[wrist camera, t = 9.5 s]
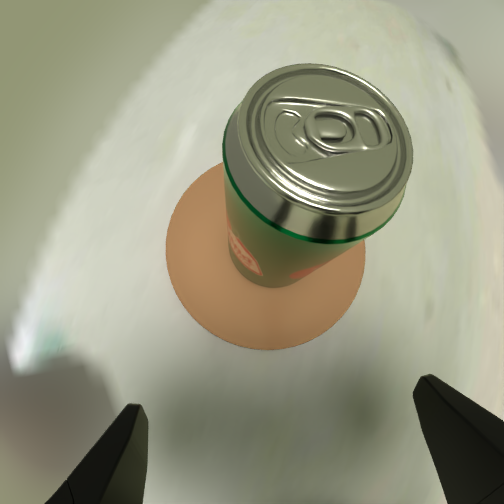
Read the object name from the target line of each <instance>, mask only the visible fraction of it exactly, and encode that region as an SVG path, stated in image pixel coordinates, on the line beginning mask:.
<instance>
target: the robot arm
mask: <svg viewBox="0 0 504 504" xmlns="http://www.w3.org/2000/svg"><path fill="white" fill-rule="evenodd" d="M413 399H414V403H415V406H416V410H417V413H418V417H419V421H420V425H421V428H422V432H423V435H424V438H425V440H426V443H427V445H428V448H429V451H430V454H431V456H432V459H433V462H434V465H435V467H436V470H437V473H438V476H439V479H440V482H441V485H442V488H443V491H444V494H445V497H446V500H447V503H448V504H504V422H503V420H501V419H500V418H498V417H497V416H495V415H494V414H492V413H491V412H489V411H488V410H486V409H484V408H483V407H481V406H480V405H478V404H477V403H475V402H474V401H472V400H471V399H469V398H468V397H466V396H465V395H463V394H462V393H460V392H458V391H457V390H455V389H454V388H452V387H451V386H449V385H448V384H446V383H445V382H443V381H442V380H440V379H439V378H437V377H436V376H434V375H432V374H428V375H424V376H421V377H420V379H419V381H418V383H417V385H416V387H415V389H414V391H413ZM147 461H148V419H147V416H146V414H145V412H144V409H143V407H142V405H141V404H132V403H130V404H127V405H126V407H125V408H124V409H123V410H122V411H121V413H120V414H119V415H118V416H117V418H116V419H115V420H114V421H113V423H112V424H111V425H110V426H109V427H108V429H107V430H106V431H105V432H104V434H103V435H102V436H101V437H100V438H99V440H98V441H97V442H96V443H95V445H94V446H93V447H92V448H91V449H90V451H89V452H88V453H87V454H86V456H85V457H84V458H83V459H82V461H81V462H80V463H79V464H78V465H77V467H76V468H75V469H74V470H73V472H72V473H71V474H70V475H69V476H68V478H67V480H65V481H64V482H63V484H62V485H61V486H60V487H59V488H58V490H57V491H56V492H55V493H54V494H53V495H52V497H51V498H50V499H49V500H48V501H47V502H46V503H45V504H143V496H144V488H145V481H146V473H147Z"/></svg>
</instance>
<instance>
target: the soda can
mask: <svg viewBox="0 0 504 504" xmlns="http://www.w3.org/2000/svg"><path fill="white" fill-rule="evenodd" d="M222 152H223V171H224V188H225V203H226V218H227V233H228V247H229V253H230V257H231V259H232V262H233V264H234V265H235V267H236V269H237V270H238V271H239V272H240V273H241V274H242V275H243V276H244V277H245V278H246V279H248V280H249V281H251V282H252V283H255V284H257V285H259V286H263V287H268V288H281V287H285V286H289V285H291V284H294V283H296V282H297V281H299V280H301V279H302V278H304V277H306V276H307V275H309V274H310V273H312V272H314V271H315V270H317V269H319V268H320V267H322V266H323V265H325V264H327V263H328V262H330V261H331V260H333V259H335V258H336V257H338V256H339V255H341V254H343V253H344V252H346V251H347V250H349V249H350V248H352V247H354V246H355V245H357V244H358V243H360V242H361V241H363V240H364V239H366V238H368V237H369V236H371V235H372V234H374V233H375V232H377V231H378V230H380V229H381V228H382V227H384V226H385V225H386V224H387V223H388V222H389V221H390V220H391V219H392V217H393V216H394V214H395V213H396V211H397V210H398V208H399V206H400V204H401V202H402V199H403V197H404V193H405V188H406V183H407V181H408V178H409V176H410V173H411V170H412V164H413V147H412V141H411V137H410V134H409V131H408V128H407V126H406V123H405V121H404V119H403V117H402V116H401V114H400V113H399V111H398V110H397V108H396V107H395V106H394V104H393V103H392V102H391V101H390V100H389V99H388V98H387V97H386V96H385V95H384V94H383V93H382V92H381V91H380V90H379V89H378V88H376V87H375V86H373V85H372V84H371V83H369V82H368V81H366V80H364V79H363V78H361V77H359V76H357V75H355V74H353V73H351V72H348V71H346V70H343V69H340V68H337V67H333V66H328V65H323V64H311V63H309V64H295V65H290V66H285V67H282V68H279V69H276V70H274V71H272V72H270V73H268V74H266V75H265V76H263V77H262V78H261V79H259V80H258V81H257V82H256V83H255V84H254V85H253V86H252V87H251V88H250V89H249V91H248V93H247V94H246V96H245V98H244V99H243V101H242V102H241V103H240V104H239V105H238V106H237V107H236V108H235V110H234V111H233V113H232V115H231V116H230V118H229V120H228V123H227V125H226V128H225V131H224V136H223V143H222Z"/></svg>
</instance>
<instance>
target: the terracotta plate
mask: <svg viewBox="0 0 504 504" xmlns="http://www.w3.org/2000/svg"><path fill="white" fill-rule="evenodd" d="M166 261H167V268H168V272H169V276H170V280H171V283H172V285H173V287H174V290H175V292H176V294H177V296H178V298H179V299H180V301H181V303H182V304H183V306H184V307H185V308H186V310H187V311H188V312H189V313H190V315H191V316H192V317H193V318H194V319H195V320H196V321H197V322H198V323H199V324H200V325H201V326H203V327H204V328H205V329H207V330H208V331H210V332H211V333H212V334H214V335H216V336H217V337H219V338H221V339H223V340H225V341H227V342H230V343H233V344H236V345H239V346H242V347H247V348H252V349H262V350H274V349H284V348H289V347H293V346H297V345H300V344H302V343H305V342H308V341H310V340H312V339H314V338H316V337H317V336H319V335H321V334H322V333H324V332H325V331H327V330H328V329H329V328H331V327H332V326H333V325H334V324H335V323H336V322H337V321H338V320H339V319H340V318H341V317H342V316H343V314H344V313H345V312H346V311H347V309H348V308H349V307H350V305H351V303H352V301H353V300H354V298H355V296H356V294H357V292H358V289H359V287H360V284H361V280H362V277H363V273H364V266H365V242H364V240H363V241H361V242H360V243H358V244H357V245H355V246H354V247H352V248H350V249H349V250H347V251H346V252H344V253H343V254H341V255H339V256H338V257H336V258H335V259H333V260H331V261H330V262H328V263H327V264H325V265H323V266H322V267H320V268H319V269H317V270H315V271H314V272H312V273H310V274H309V275H307V276H306V277H304V278H302V279H301V280H299V281H297V282H296V283H294V284H291V285H289V286H285V287H281V288H268V287H263V286H259V285H257V284H255V283H252V282H251V281H249V280H248V279H246V278H245V277H244V276H243V275H242V274H241V273H240V272H239V271H238V270H237V269H236V267H235V265H234V264H233V262H232V259H231V257H230V253H229V247H228V233H227V218H226V203H225V188H224V171H223V162H222V163H220V164H218V165H216V166H214V167H213V168H211V169H209V170H208V171H206V172H205V173H204V174H202V175H201V176H200V177H199V178H198V179H196V180H195V181H194V182H193V183H192V184H191V185H190V187H189V188H188V189H187V190H186V191H185V193H184V194H183V195H182V197H181V199H180V200H179V202H178V204H177V205H176V207H175V210H174V212H173V214H172V217H171V220H170V223H169V227H168V231H167V238H166Z"/></svg>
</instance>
